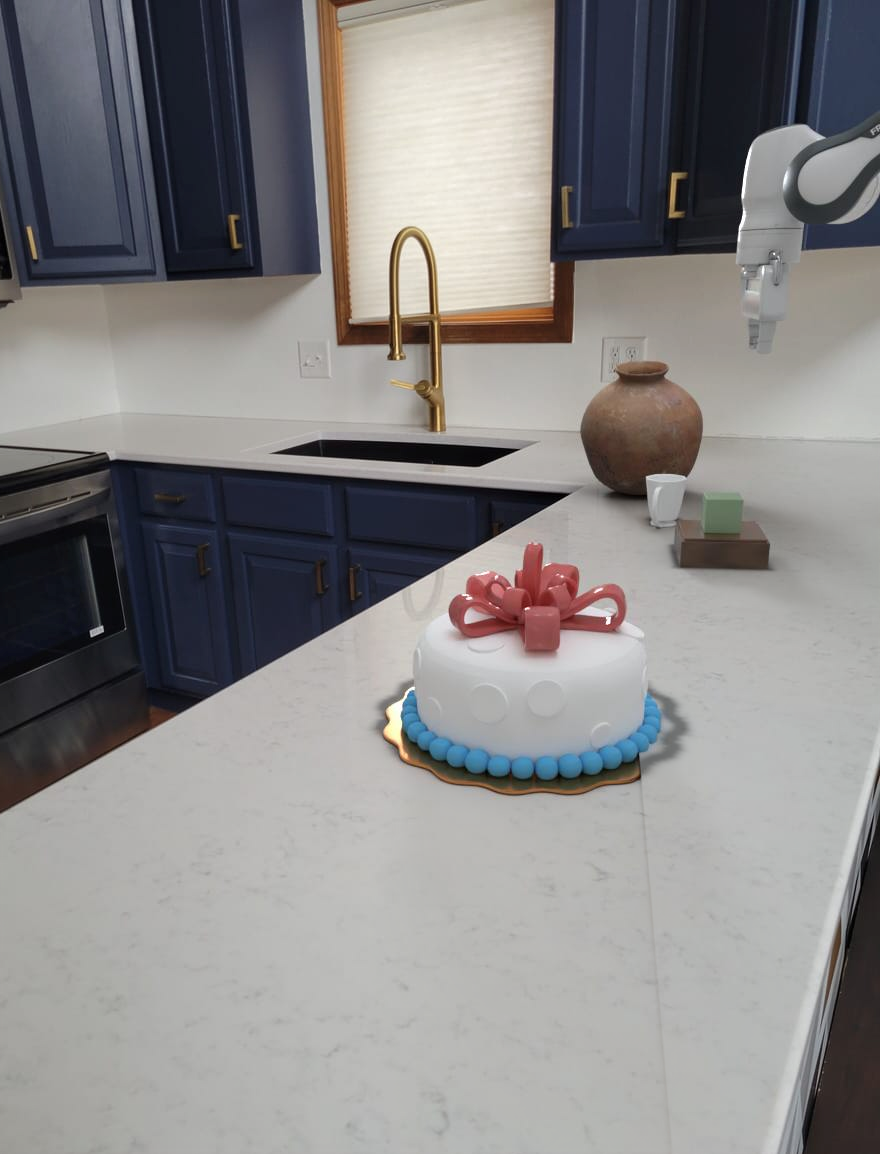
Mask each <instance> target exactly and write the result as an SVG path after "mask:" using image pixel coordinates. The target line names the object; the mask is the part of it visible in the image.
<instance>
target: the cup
mask: <svg viewBox="0 0 880 1154" xmlns="http://www.w3.org/2000/svg"><path fill="white" fill-rule="evenodd" d="M687 482H688V478H686V477H685V476H681V475H675V474H655V475H650V476H646V485H647V495H646V496H647V505H648V510H649V516H650V518H651V520H650V526H652V527H655V528H658V529H659V528H671V527H675V522H676V520H677V519H678V517H679V515H680V511H681V508H682V504H683V499H684V496H685V492H686V486H687Z"/></svg>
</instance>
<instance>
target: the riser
mask: <svg viewBox="0 0 880 1154" xmlns="http://www.w3.org/2000/svg"><path fill="white" fill-rule="evenodd" d="M770 550H771V543H770V541H769V539H768V537H767V536H766V534H765V533H764V531H763V530H762V528H761V526H760V524H759V523H757V522H756V521H755V520H742V521H741V532H740V534H718V533H704V531H703V529H702V526H701V519H678V521H675V526H674V537H673V550H672V551H673V554H675V556H676V560H677V562H678V567H679V568H686V569H688V568H689V569H690V568H691V569H726V570H727V569H728V570H729V569H730V570H768V567H769V557H770Z"/></svg>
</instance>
